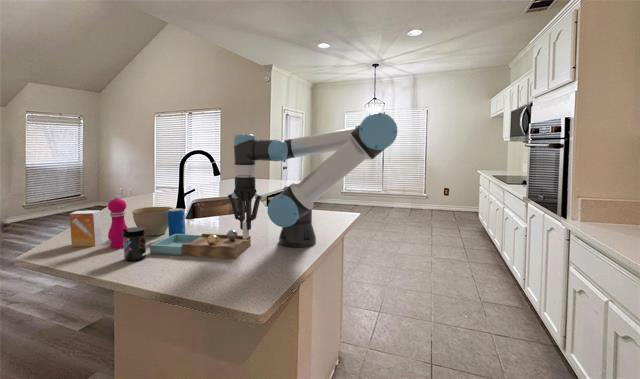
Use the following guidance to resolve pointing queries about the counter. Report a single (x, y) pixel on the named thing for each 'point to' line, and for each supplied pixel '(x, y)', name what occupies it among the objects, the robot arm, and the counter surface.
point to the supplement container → (134, 244)
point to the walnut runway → (217, 247)
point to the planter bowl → (152, 219)
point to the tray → (172, 244)
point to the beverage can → (176, 221)
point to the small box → (85, 228)
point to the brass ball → (212, 240)
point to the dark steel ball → (232, 235)
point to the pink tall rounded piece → (117, 222)
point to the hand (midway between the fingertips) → (245, 237)
